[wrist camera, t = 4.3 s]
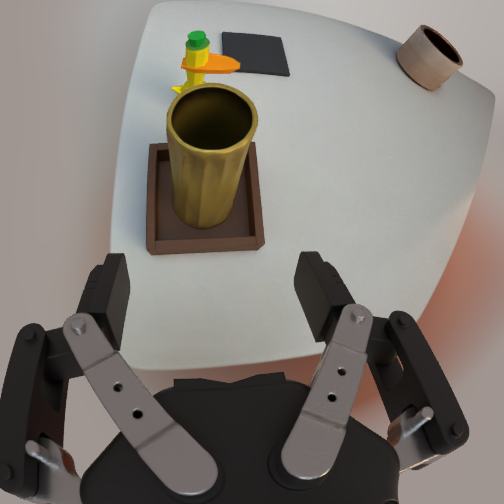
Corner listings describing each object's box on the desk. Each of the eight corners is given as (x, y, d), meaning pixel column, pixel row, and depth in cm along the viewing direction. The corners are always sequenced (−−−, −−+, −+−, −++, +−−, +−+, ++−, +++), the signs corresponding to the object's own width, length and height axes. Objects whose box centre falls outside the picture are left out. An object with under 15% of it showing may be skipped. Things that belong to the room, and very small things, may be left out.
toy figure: (229, 103, 32) (247, 29, 20) (227, 126, 31) (245, 51, 19) (173, 99, 30) (172, 23, 19) (169, 122, 30) (164, 45, 18)
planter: (406, 82, 40) (435, 53, 31) (387, 45, 42) (410, 16, 32) (443, 97, 42) (471, 74, 33) (424, 61, 44) (448, 37, 35)
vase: (171, 229, 27) (152, 161, 14) (173, 171, 28) (164, 76, 15) (233, 228, 29) (270, 164, 15) (232, 172, 30) (263, 80, 16)
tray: (151, 255, 27) (146, 249, 24) (152, 157, 29) (149, 143, 26) (258, 249, 29) (265, 244, 26) (249, 155, 31) (255, 141, 28)
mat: (223, 71, 32) (223, 69, 32) (222, 34, 34) (222, 31, 33) (289, 76, 34) (290, 74, 34) (280, 39, 36) (280, 37, 35)
